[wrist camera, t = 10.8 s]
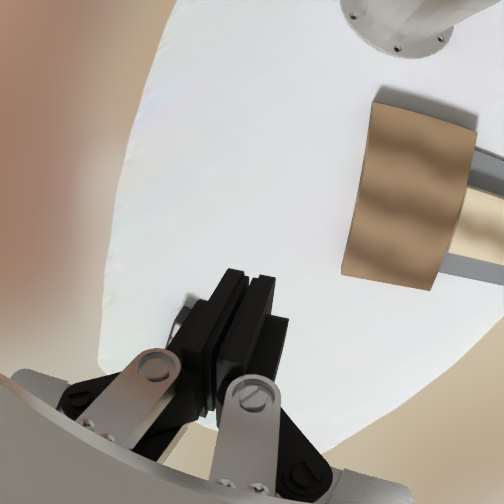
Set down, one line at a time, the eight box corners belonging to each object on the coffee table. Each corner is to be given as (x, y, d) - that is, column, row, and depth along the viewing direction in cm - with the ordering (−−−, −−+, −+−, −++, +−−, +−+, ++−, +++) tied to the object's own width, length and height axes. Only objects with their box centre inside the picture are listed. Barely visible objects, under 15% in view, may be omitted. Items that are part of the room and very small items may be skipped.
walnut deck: (371, 102, 27) (374, 102, 25) (470, 130, 25) (477, 132, 23) (341, 266, 37) (341, 274, 35) (426, 282, 35) (430, 291, 33)
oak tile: (461, 182, 28) (468, 187, 26) (520, 203, 26) (528, 208, 24) (443, 244, 32) (448, 252, 30) (501, 258, 30) (507, 266, 28)
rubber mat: (468, 147, 26) (469, 148, 26) (543, 179, 24) (544, 179, 23) (433, 269, 34) (433, 271, 34) (505, 284, 31) (506, 286, 31)
